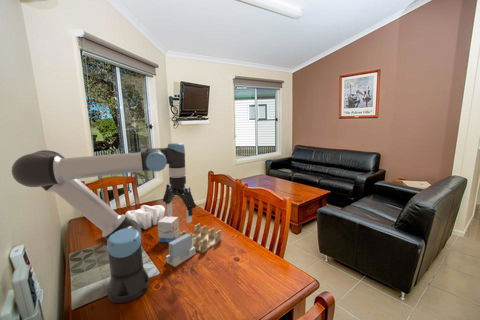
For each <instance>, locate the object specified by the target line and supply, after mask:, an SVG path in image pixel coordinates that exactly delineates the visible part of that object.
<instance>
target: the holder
mask: <svg viewBox="0 0 480 320" xmlns="http://www.w3.org/2000/svg"><path fill="white" fill-rule="evenodd" d="M196 252H197V251H196V250H195V247H192V248H191V249H189V250H188V255H186V256H185V257H183V258H181V259H180V256H177V257H175V258H174V259H172V262H171V261H170V255H169V254H168V255H166V256H165V263H167V264H169V265H170V266H173V267H174V268H176V267H177V266H179V265H180V264H182V263H183V262H185V261H186V260H188V259H190V258H191V257H193V256H194V255H197V253H196Z"/></svg>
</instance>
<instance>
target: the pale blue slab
mask: <svg viewBox="0 0 480 320" xmlns="http://www.w3.org/2000/svg"><path fill="white" fill-rule="evenodd" d="M191 248H192V244H191V235H189V233H186V234H185V235H183V236H181V237H179V236H178V237H177V239H175V240H173V241H172V242H168V252H169V253H168V255H170V261H171V262H172V259H174V258H175V257H177V256H180V259H181V258H183V257H185V256H186V255H188V250H189V249H191Z"/></svg>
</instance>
